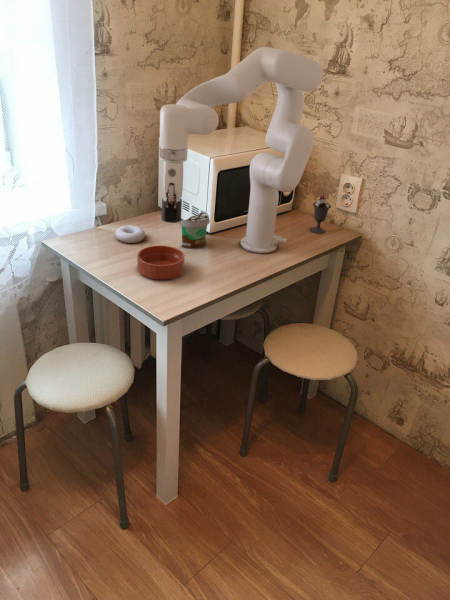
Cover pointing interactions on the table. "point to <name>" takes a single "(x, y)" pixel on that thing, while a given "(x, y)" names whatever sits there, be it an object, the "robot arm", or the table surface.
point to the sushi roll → (178, 205)
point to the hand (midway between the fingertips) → (171, 215)
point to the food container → (194, 230)
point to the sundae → (320, 213)
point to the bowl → (160, 262)
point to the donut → (130, 234)
